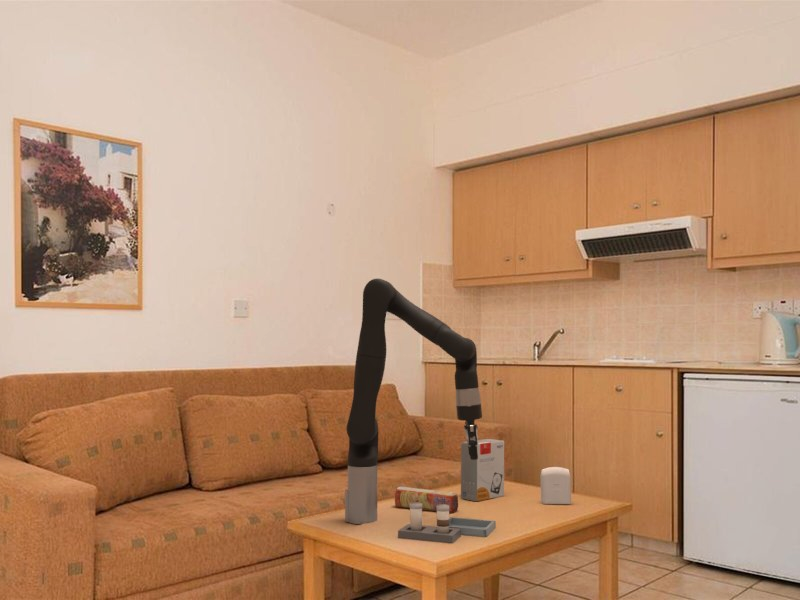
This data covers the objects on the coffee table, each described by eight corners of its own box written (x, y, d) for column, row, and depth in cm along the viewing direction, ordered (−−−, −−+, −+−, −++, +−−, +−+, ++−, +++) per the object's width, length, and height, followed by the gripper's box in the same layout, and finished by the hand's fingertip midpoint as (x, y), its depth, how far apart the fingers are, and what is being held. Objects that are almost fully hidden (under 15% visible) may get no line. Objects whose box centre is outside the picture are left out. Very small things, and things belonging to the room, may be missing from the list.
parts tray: (438, 534, 214) (438, 525, 214) (450, 525, 224) (450, 517, 224) (486, 538, 209) (486, 529, 209) (495, 529, 219) (495, 520, 219)
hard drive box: (476, 502, 256) (475, 444, 257) (460, 498, 261) (459, 442, 263) (505, 495, 266) (504, 440, 267) (488, 492, 272) (488, 438, 273)
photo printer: (541, 504, 252) (540, 467, 253) (540, 502, 256) (539, 465, 257) (572, 505, 251) (571, 468, 252) (570, 502, 255) (570, 466, 256)
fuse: (408, 536, 209) (407, 504, 210) (412, 533, 213) (412, 501, 213) (420, 537, 208) (419, 505, 209) (424, 534, 211) (424, 502, 212)
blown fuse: (434, 539, 206) (434, 506, 207) (438, 536, 210) (438, 503, 210) (447, 540, 205) (447, 507, 206) (451, 537, 209) (450, 504, 209)
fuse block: (397, 539, 208) (397, 530, 208) (407, 532, 216) (407, 524, 216) (452, 545, 202) (452, 535, 202) (460, 537, 210) (460, 528, 210)
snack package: (459, 510, 244) (459, 490, 245) (452, 515, 238) (451, 493, 239) (401, 504, 254) (401, 484, 254) (393, 508, 248) (392, 488, 248)
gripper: (455, 402, 232) (460, 454, 231) (457, 406, 218) (462, 461, 217) (479, 400, 232) (484, 452, 231) (482, 404, 218) (487, 459, 217)
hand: (473, 457), depth 224 cm, fingers open, 8 cm apart
